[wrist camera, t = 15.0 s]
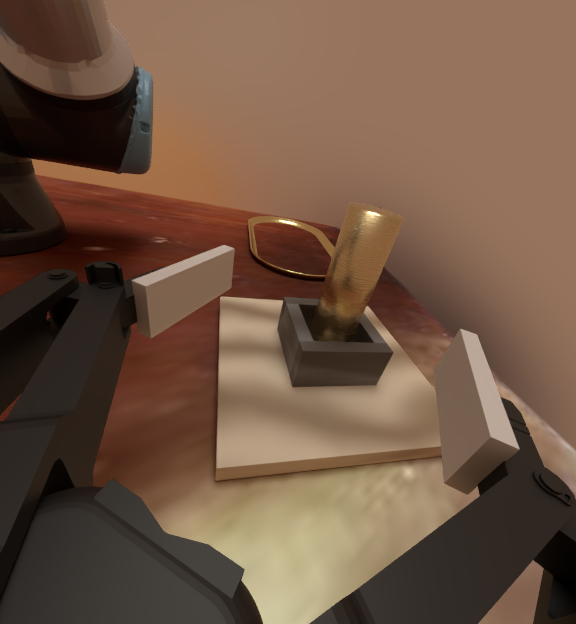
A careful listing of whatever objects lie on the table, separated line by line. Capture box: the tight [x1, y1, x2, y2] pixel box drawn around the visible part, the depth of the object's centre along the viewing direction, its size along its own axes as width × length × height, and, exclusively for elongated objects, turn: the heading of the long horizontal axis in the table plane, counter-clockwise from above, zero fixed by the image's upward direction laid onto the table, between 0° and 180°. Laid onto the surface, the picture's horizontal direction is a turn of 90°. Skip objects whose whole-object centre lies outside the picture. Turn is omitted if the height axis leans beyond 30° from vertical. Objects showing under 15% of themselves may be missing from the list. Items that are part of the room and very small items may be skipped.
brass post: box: [309, 202, 404, 342], centre depth 23 cm, size 4×4×14 cm
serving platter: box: [248, 216, 335, 280], centre depth 59 cm, size 19×35×2 cm, turn 9°
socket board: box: [215, 297, 442, 481], centre depth 26 cm, size 20×20×6 cm
